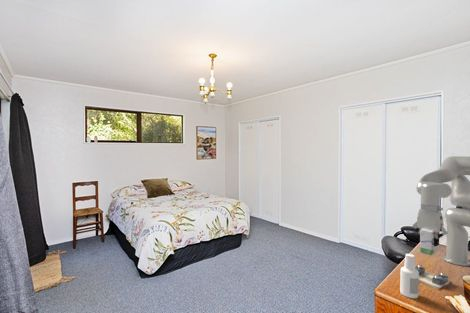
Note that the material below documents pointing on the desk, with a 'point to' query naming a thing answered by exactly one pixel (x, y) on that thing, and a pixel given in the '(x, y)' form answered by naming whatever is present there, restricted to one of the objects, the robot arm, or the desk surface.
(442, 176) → the robot arm
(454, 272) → the desk surface
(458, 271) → the desk surface
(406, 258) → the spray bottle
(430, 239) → the ink box
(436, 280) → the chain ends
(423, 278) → the jig board
